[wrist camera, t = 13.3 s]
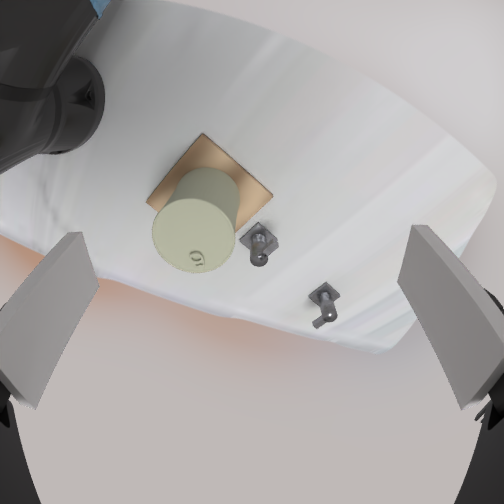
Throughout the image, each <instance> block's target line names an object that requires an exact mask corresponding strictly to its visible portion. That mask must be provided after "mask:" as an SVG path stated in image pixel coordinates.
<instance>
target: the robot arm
mask: <svg viewBox="0 0 504 504" xmlns="http://www.w3.org/2000/svg"><path fill="white" fill-rule="evenodd" d="M110 1H111V0H0V174H2V173H3V172H5V171H7V170H8V169H10V168H12V167H14V166H16V165H17V164H19V163H21V162H23V161H25V160H26V159H28V158H30V157H32V156H34V155H36V154H54V155H56V154H63V153H67V152H69V151H72V150H74V149H76V148H78V147H80V146H81V145H83V144H84V143H85V142H86V141H87V140H88V139H89V138H90V137H91V136H92V135H93V133H94V132H95V130H96V129H97V127H98V125H99V123H100V120H101V117H102V114H103V110H104V102H105V94H104V86H103V82H102V79H101V77H100V75H99V73H98V71H97V70H96V68H95V67H94V66H93V65H92V64H91V63H90V62H89V61H87V60H85V59H83V58H81V57H77V56H72V55H73V54H74V52H75V51H76V49H77V48H78V46H79V45H80V43H81V42H82V40H83V39H84V37H85V36H86V35H87V33H88V32H89V30H90V29H91V28H92V26H93V25H94V24H95V22H96V21H97V20H98V19H100V18H101V17H102V12H103V11H104V9H105V8H106V7H107V5H108V4H109V3H110ZM397 282H398V284H399V286H400V287H401V289H402V291H403V293H404V294H405V296H406V298H407V300H408V301H409V303H410V305H411V307H412V309H413V310H414V312H415V314H416V316H417V318H418V320H419V321H420V323H421V325H422V327H423V329H424V331H425V333H426V335H427V337H428V339H429V341H430V343H431V345H432V347H433V349H434V351H435V353H436V355H437V357H438V359H439V361H440V363H441V365H442V367H443V369H444V372H445V374H446V376H447V378H448V380H449V383H450V385H451V387H452V390H453V391H454V394H455V396H456V399H457V401H458V403H459V406H460V408H461V410H464V409H467V408H469V407H472V406H475V405H478V404H479V403H480V402H481V401H482V400H483V398H484V397H485V396H486V395H487V394H489V396H490V398H491V400H490V401H489V402H488V403H487V405H486V406H485V407H484V408H483V409H482V410H481V411H480V412H479V413H478V414H477V416H476V418H475V420H476V421H477V420H478V419H479V418H480V417H481V416H482V415H483V414H484V413H485V414H484V418H483V419H482V420H481V423H482V427H481V430H480V434H479V437H478V441H477V444H476V448H475V450H474V454H473V457H472V460H471V462H470V465H469V468H468V471H467V474H466V476H465V479H464V482H463V484H462V486H461V489H460V491H459V494H458V496H457V498H456V501H455V503H454V504H504V309H503V306H502V305H501V304H500V302H499V301H498V300H497V299H496V297H495V296H493V295H492V294H491V293H490V292H488V291H487V290H485V289H483V287H482V286H481V285H480V284H479V282H478V281H477V280H476V279H475V278H474V276H473V275H472V274H471V273H470V272H469V270H468V269H467V268H466V267H465V266H464V264H463V263H462V262H461V261H460V260H459V259H458V258H457V256H456V255H455V254H454V253H453V252H452V251H451V250H450V249H449V248H448V246H447V245H446V244H445V243H444V242H443V241H442V240H441V239H440V238H439V237H438V236H437V235H436V234H435V233H434V232H433V231H432V229H431V228H430V227H429V226H428V225H412V226H411V231H410V235H409V239H408V243H407V248H406V251H405V255H404V259H403V263H402V267H401V270H400V274H399V277H398V281H397ZM98 288H99V283H98V280H97V277H96V274H95V272H94V269H93V266H92V263H91V260H90V257H89V254H88V250H87V247H86V244H85V241H84V237H83V234H82V232H70V233H67V234H66V235H65V236H64V237H63V238H62V239H61V240H60V241H59V242H58V243H57V244H56V246H55V247H54V248H53V249H52V250H51V251H50V252H49V253H48V254H47V255H46V256H45V257H44V259H43V260H42V261H41V262H40V263H39V264H38V265H37V266H36V268H35V269H34V270H33V271H32V272H31V273H30V275H29V276H28V277H27V278H26V279H25V280H24V282H23V283H22V284H21V285H20V287H19V288H18V289H17V291H16V292H15V293H14V294H13V295H12V297H11V298H10V299H9V300H8V302H7V303H5V304H4V306H3V307H2V308H1V310H0V504H41V502H40V500H39V497H38V495H37V492H36V489H35V486H34V484H33V481H32V478H31V475H30V472H29V469H28V466H27V462H26V459H25V456H24V452H23V448H22V444H21V441H20V436H19V432H18V428H17V423H16V419H15V414H14V409H13V405H12V403H11V402H10V401H9V400H8V399H9V397H10V395H11V394H12V395H13V397H14V398H15V399H16V400H17V401H18V402H19V403H20V404H21V405H24V406H27V407H29V408H32V409H36V408H37V405H38V403H39V401H40V399H41V396H42V394H43V392H44V390H45V387H46V385H47V383H48V381H49V379H50V377H51V375H52V372H53V370H54V368H55V366H56V364H57V362H58V360H59V358H60V356H61V354H62V353H63V351H64V349H65V347H66V344H67V343H68V341H69V339H70V337H71V335H72V334H73V332H74V330H75V328H76V326H77V324H78V323H79V321H80V319H81V317H82V315H83V314H84V312H85V310H86V309H87V307H88V305H89V303H90V302H91V300H92V298H93V297H94V295H95V293H96V292H97V290H98Z"/></svg>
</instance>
